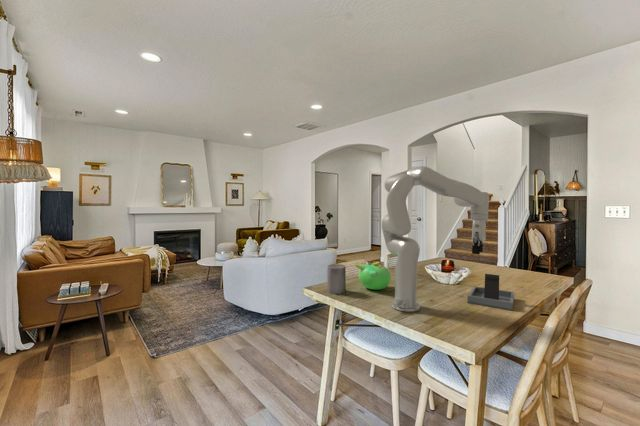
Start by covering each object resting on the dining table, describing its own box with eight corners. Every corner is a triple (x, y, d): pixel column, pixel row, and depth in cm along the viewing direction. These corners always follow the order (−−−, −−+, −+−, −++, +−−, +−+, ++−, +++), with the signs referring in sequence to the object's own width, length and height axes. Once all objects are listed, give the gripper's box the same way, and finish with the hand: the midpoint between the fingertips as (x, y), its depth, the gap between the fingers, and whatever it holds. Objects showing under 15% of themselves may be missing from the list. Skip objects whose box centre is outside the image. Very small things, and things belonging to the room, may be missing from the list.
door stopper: (498, 302, 141) (499, 277, 141) (483, 300, 144) (484, 275, 144) (499, 297, 149) (499, 273, 148) (485, 295, 152) (485, 272, 152)
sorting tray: (512, 310, 133) (512, 303, 133) (467, 302, 144) (467, 295, 143) (514, 299, 150) (514, 292, 150) (473, 292, 160) (474, 286, 160)
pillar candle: (336, 287, 167) (336, 260, 167) (349, 291, 160) (349, 263, 159) (323, 291, 161) (323, 263, 160) (336, 295, 154) (336, 266, 153)
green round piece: (396, 290, 164) (397, 263, 163) (375, 296, 153) (376, 267, 153) (371, 283, 178) (371, 258, 177) (350, 287, 167) (351, 261, 167)
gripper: (485, 218, 137) (483, 256, 137) (490, 217, 151) (488, 251, 151) (467, 217, 141) (465, 254, 142) (473, 216, 155) (471, 250, 156)
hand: (477, 252), depth 146 cm, fingers open, 9 cm apart
